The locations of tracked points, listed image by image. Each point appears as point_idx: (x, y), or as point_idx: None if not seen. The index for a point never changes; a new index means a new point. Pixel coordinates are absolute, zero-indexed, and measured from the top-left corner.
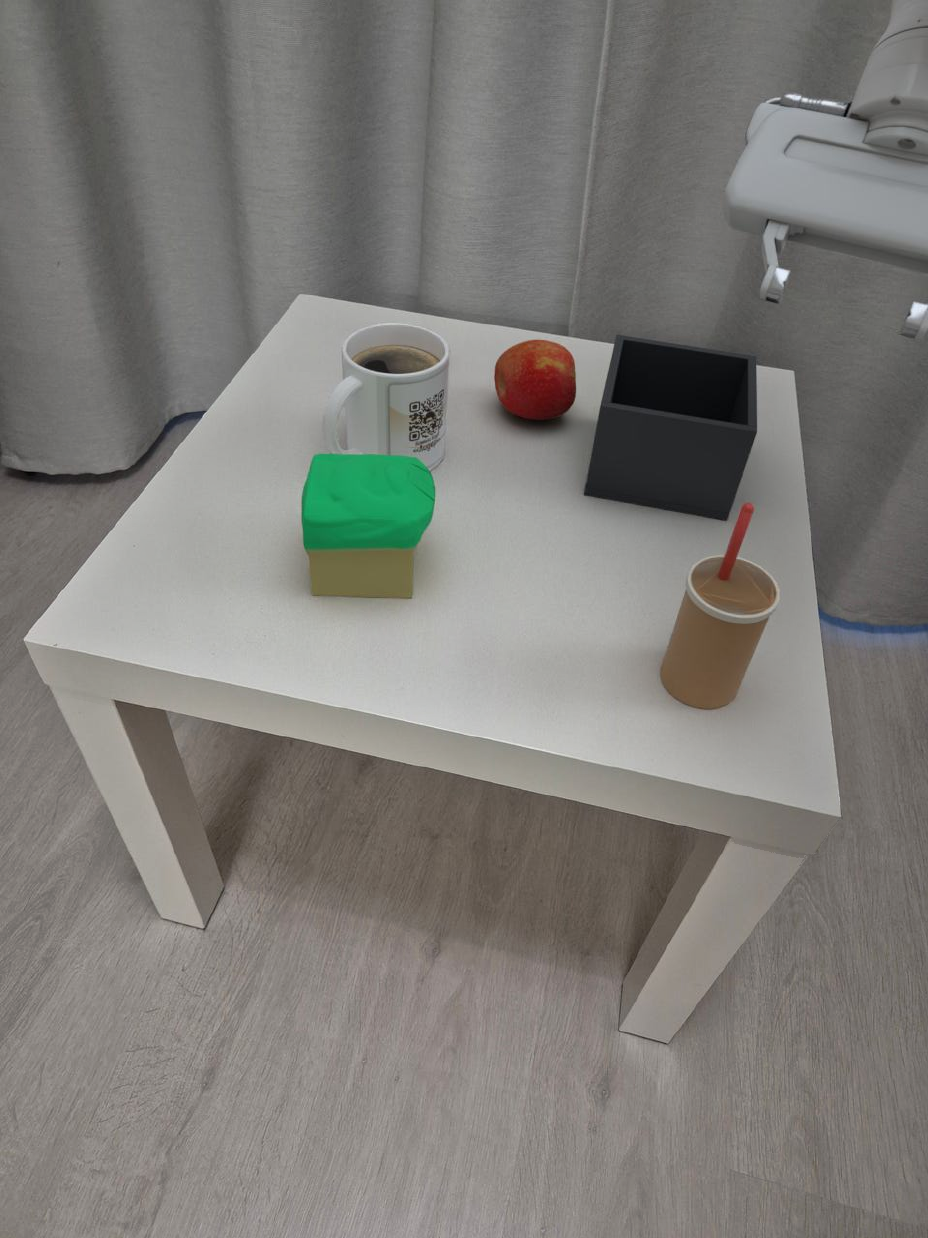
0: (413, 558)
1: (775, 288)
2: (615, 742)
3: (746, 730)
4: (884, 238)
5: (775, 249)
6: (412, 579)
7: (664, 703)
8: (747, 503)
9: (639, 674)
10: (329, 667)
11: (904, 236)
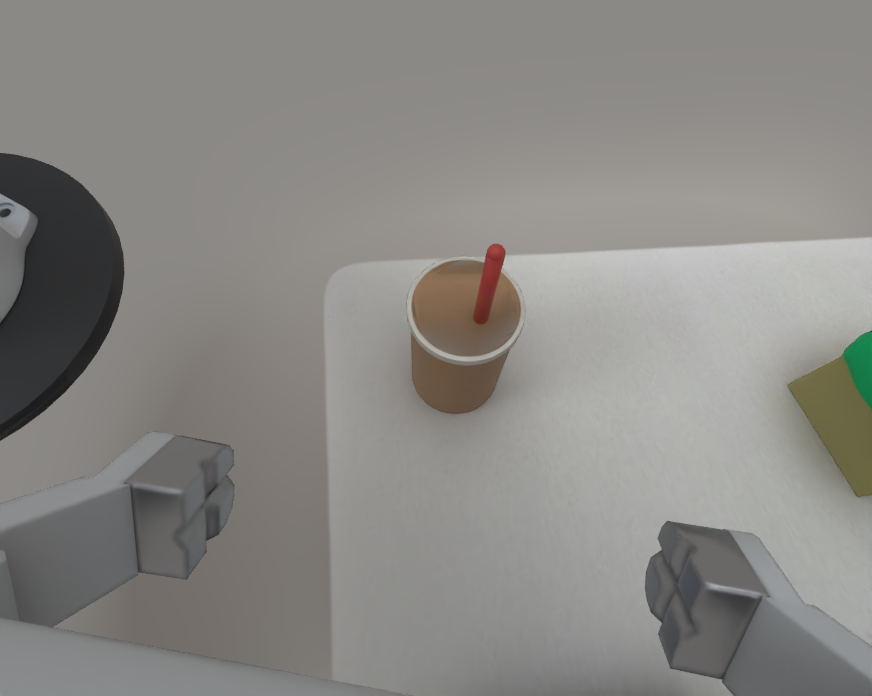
0: (828, 445)
1: (702, 530)
2: (517, 274)
3: (399, 324)
4: (324, 686)
5: (852, 664)
6: (806, 388)
7: None
8: (499, 250)
9: (516, 359)
10: (796, 274)
11: (190, 683)
